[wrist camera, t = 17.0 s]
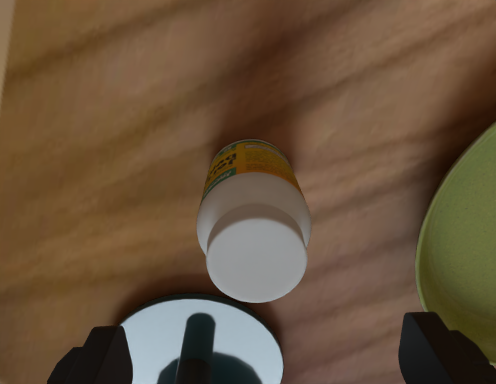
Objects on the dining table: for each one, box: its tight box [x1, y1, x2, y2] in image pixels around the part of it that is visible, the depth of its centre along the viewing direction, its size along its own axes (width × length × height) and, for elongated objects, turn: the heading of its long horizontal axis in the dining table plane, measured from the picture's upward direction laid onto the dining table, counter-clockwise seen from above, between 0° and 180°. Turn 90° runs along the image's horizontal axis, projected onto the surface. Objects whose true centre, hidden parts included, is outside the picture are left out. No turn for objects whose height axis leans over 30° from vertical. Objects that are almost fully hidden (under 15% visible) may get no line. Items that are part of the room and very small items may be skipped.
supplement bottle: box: [197, 139, 311, 303], centre depth 19 cm, size 5×5×10 cm
